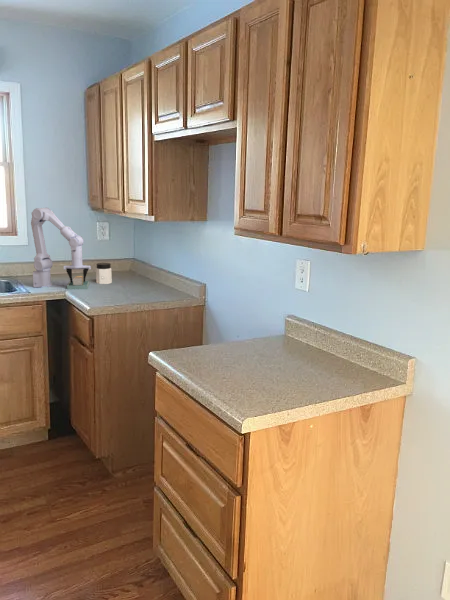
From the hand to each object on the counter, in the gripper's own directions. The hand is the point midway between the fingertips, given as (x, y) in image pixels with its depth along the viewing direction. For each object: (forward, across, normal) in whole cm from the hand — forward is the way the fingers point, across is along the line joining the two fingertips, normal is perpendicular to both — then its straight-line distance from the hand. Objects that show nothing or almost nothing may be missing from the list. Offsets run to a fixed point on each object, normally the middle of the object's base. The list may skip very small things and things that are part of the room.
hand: (77, 282), depth 290 cm
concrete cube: (+3, 0, 0) cm, 3 cm away
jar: (+4, +14, +16) cm, 21 cm away
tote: (+4, 0, +4) cm, 5 cm away
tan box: (+3, 0, +8) cm, 9 cm away
